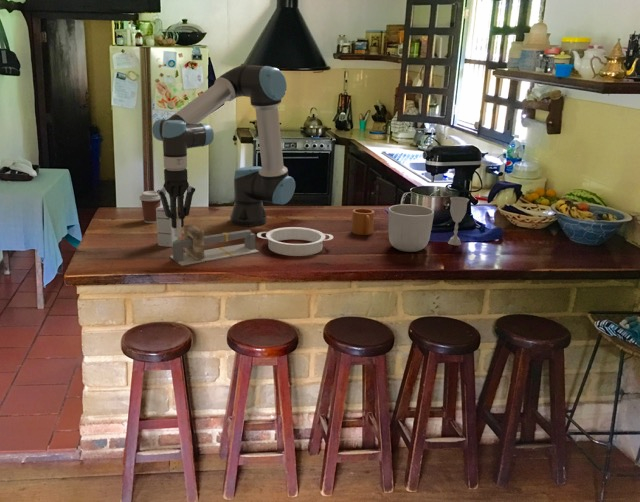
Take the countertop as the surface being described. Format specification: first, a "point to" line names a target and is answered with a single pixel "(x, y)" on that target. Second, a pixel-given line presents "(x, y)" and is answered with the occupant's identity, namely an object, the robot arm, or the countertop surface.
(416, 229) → the planter
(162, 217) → the syrup box
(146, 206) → the coffee cup
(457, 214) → the chalice
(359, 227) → the mug
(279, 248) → the pot
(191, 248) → the tan flat block
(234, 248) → the rail
